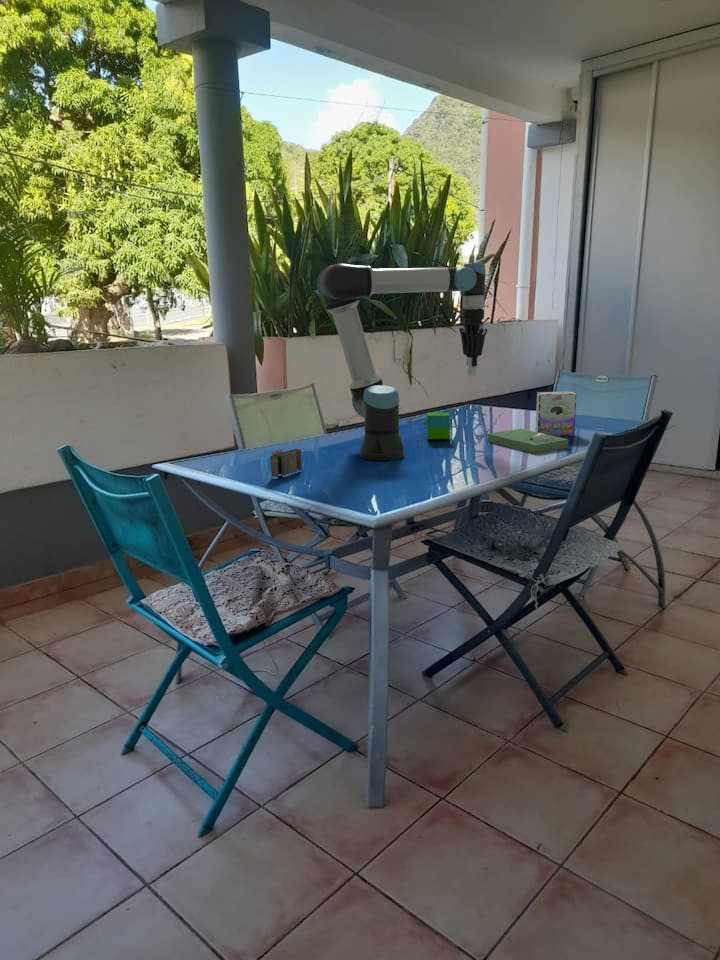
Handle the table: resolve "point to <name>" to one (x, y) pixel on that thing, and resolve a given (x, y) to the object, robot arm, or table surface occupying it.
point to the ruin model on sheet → (285, 462)
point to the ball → (540, 437)
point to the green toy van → (438, 426)
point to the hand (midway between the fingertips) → (471, 375)
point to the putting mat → (526, 441)
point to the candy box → (556, 413)
